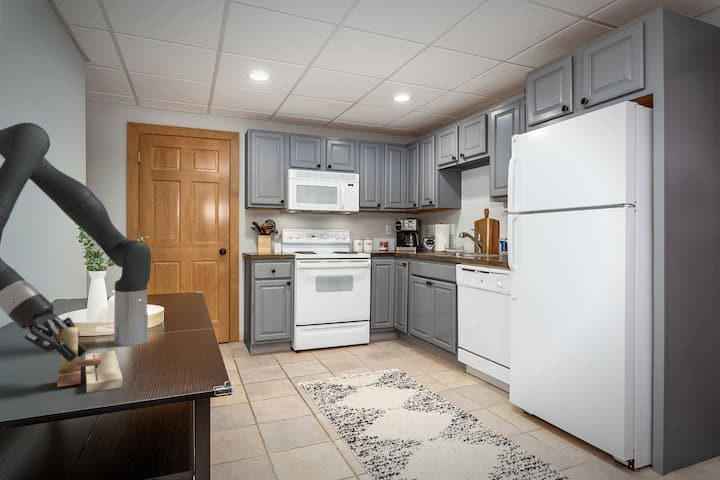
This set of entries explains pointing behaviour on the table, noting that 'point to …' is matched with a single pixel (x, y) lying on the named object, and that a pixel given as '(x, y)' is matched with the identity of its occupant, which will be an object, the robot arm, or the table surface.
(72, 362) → the marking gauge
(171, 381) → the table surface
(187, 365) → the table surface
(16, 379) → the table surface
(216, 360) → the table surface
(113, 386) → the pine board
